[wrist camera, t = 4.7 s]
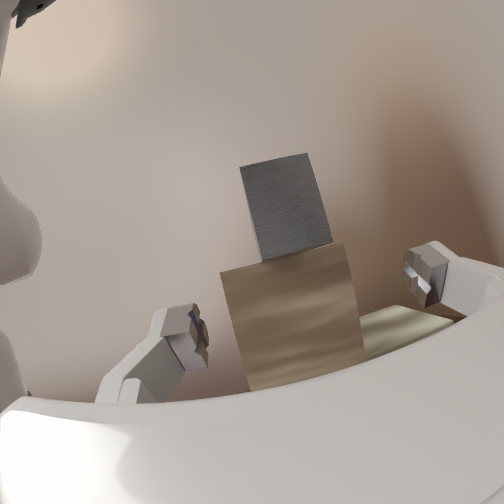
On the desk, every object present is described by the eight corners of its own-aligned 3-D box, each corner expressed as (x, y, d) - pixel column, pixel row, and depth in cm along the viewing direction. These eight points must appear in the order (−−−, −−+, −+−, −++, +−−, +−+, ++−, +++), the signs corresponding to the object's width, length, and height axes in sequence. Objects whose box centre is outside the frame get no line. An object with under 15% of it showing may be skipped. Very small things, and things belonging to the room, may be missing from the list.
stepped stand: (447, 443, 17) (436, 217, 19) (286, 503, 18) (219, 272, 19) (403, 402, 29) (380, 233, 31) (280, 442, 30) (235, 270, 31)
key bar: (333, 241, 11) (307, 152, 11) (262, 259, 11) (239, 167, 11) (288, 257, 30) (279, 222, 30) (261, 263, 30) (252, 228, 30)
